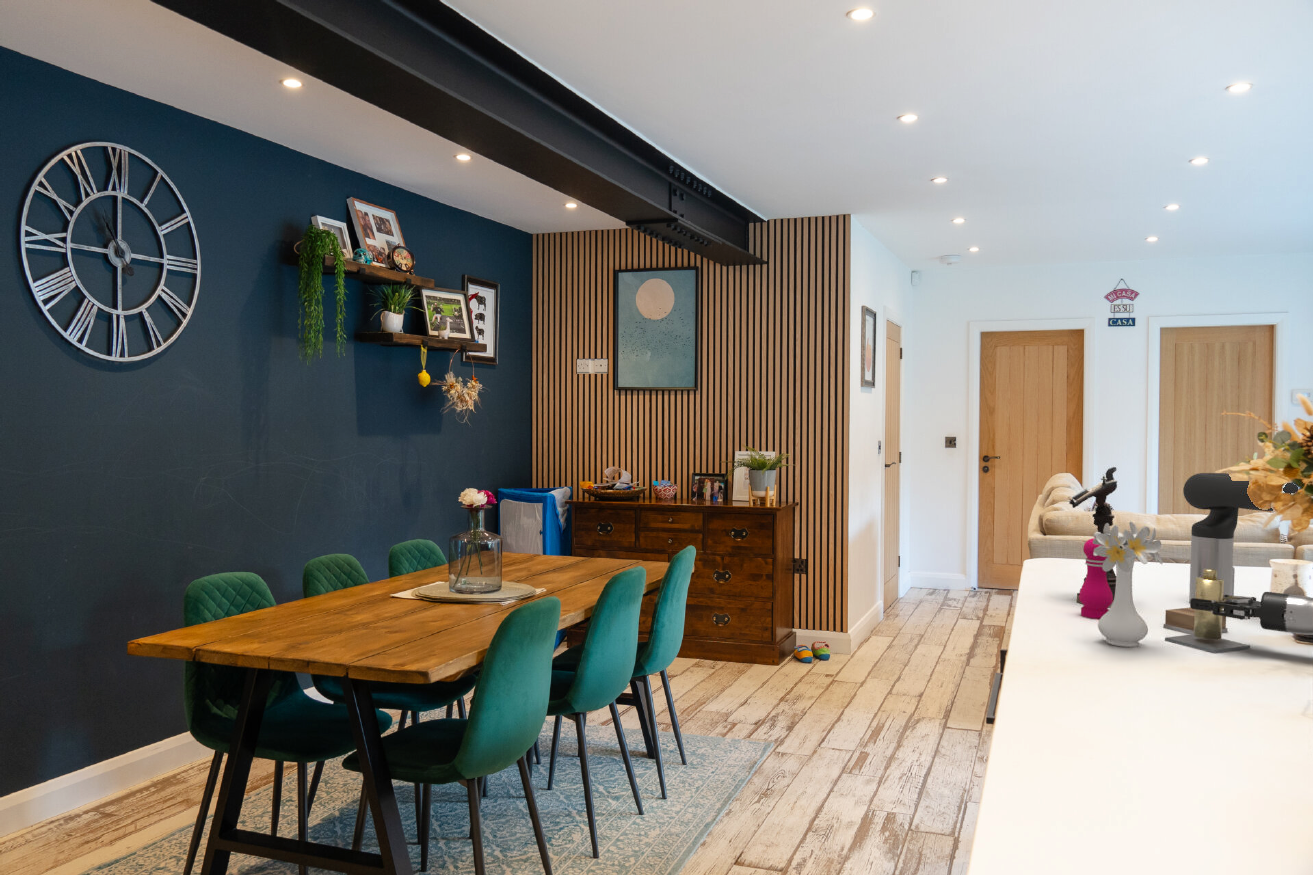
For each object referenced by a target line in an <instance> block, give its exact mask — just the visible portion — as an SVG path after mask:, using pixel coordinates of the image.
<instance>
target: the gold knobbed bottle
mask: <svg viewBox="0 0 1313 875" xmlns="http://www.w3.org/2000/svg"><path fill="white" fill-rule="evenodd" d="M1223 589H1224V580H1222V579H1218V578H1217V570H1215V569H1204V570H1203V577H1196V589H1195V598H1198V599H1205V600H1218V601H1223ZM1220 610H1224V609H1223V606H1220ZM1194 636H1196V637H1200V638H1205V639H1221V638H1222V616H1220V615H1214V614H1212V612H1211V611H1204V610H1197V609H1195V614H1194Z"/></svg>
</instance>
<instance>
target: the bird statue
mask: <svg viewBox="0 0 1313 875" xmlns="http://www.w3.org/2000/svg"><path fill="white" fill-rule="evenodd" d="M1116 471H1117V467H1115V466H1113V467H1110V468H1107V470H1106V472H1105V473H1103V474H1102V478H1100V480H1101V482H1099V483H1098V484H1096V485H1094V486H1092V488H1085V489H1083V490H1081V491H1079V492H1078V493H1076V494H1075V495H1073V496H1068V497H1067V498H1068V499H1069V502H1068V504H1069V505H1071V506H1072V508H1073V509H1075V508H1076V507H1078V506H1079V505H1080V504H1082V503H1084V502H1085V501H1087V500H1088V499H1090V498H1093V497H1094V498H1095V502H1096V504H1097V506H1096V507H1095V513H1092V517H1093V525H1094V526H1096V527H1097V528H1096V529H1097V532H1100V533H1101V534H1104V532H1103V530H1104V526H1105V524H1106V523H1108V524H1109V526H1110V527H1113V526H1114V522H1113V520H1114V519H1115V515H1114V514H1112V509H1111V507H1110V506H1109V505H1107V504H1106V501H1107V496H1109V495H1111V494H1112V493H1113V492H1115V491H1116V490H1117V488H1118V484H1117V483H1118V480H1116V479H1115V478H1114V473H1116ZM1086 577H1087V574H1086V575H1085V577H1084V578H1083V584H1084V582H1085V580H1086ZM1106 578H1107V582H1108V585H1109V587H1110V589H1111V592H1112V595H1113V601H1114V597H1115V589H1116V573H1115V571H1114V567H1113V568H1112V569H1111V570H1110V571H1106ZM1083 584H1082V585H1081V587H1082V586H1083ZM1080 590H1081V588H1080V589H1079V591H1080ZM1079 594H1080V592H1077V593H1076V603H1077V604H1080V605H1081V604H1082V602H1081V601H1080V599H1079ZM1112 604H1113V602H1112ZM1112 604H1111V605H1110V606H1109V607H1108V609H1110V608H1111V606H1112ZM1082 605H1083V604H1082Z"/></svg>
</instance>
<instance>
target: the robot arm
mask: <svg viewBox="0 0 1313 875" xmlns="http://www.w3.org/2000/svg"><path fill="white" fill-rule="evenodd" d="M1229 474H1230V473H1226V472H1225V473H1224V472H1199V473H1195V474H1193V475H1191V476H1190V477H1189V478H1187V480H1186V481H1185V483H1184V484H1183V496H1184V499H1185V500H1186V502H1187V503H1188V504H1189V505H1190V506H1192V507H1193V508H1196V509H1199V510H1209V514H1208V515H1207V516H1206V517H1205V518H1204V519H1201V520H1199V521H1197V522H1194V523H1193V524H1192V525H1191V530H1190V531H1191V532H1190V533H1191V536H1190V541H1191V542H1190V567H1189V568H1190V569H1189V593H1188V595H1189V596H1188V598H1189V604H1190V605H1189V607H1191V609H1197V610H1204V611H1211V612H1212V614H1214V615H1220V616H1225V617H1226V618H1233V619H1237V620H1241V621H1242V620H1243V621H1244V620H1251V618H1257V619H1259V624H1260V627H1261V628H1262V629H1263V630H1268V631H1276V632H1283V633H1290V634H1297V635H1307V636H1308V635H1310V636H1313V597H1310V596H1305V595H1298V594H1289V593H1282V592H1274V591H1273V592H1272V591H1264V592H1263V593H1262V595H1261V598H1260V601H1258V600H1257V597H1255V596H1243V595H1242V596H1241V595H1235V572H1236V571H1235V567H1234V566H1233V565H1234V541H1235V540H1234V538H1235V531H1236V528H1237V526H1238V517H1239V511H1240V510H1239V509H1244V510H1252V511H1259V512H1260V511H1264V512H1274V511H1273V509H1272V508H1270V509H1268V510H1262V509H1259V508H1258V507H1256V506H1255V505H1254V504H1253V502H1251V500H1250V498H1249V496H1248V494H1247V488H1248V485H1249V481H1232V480H1231V477H1230V476H1229ZM1283 491H1284V492H1285V493H1290V494H1291V493H1295V492H1297V491H1298V487H1297V486H1296V485H1294V484H1293V483H1287V484H1286V485H1285V487H1284V488H1283ZM1204 569H1215V570H1217V578H1218V579H1222V580H1224V589H1223V601H1218V600H1205V599H1198V598H1195V589H1196V577H1203V570H1204ZM1220 606H1223V610H1220Z"/></svg>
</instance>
